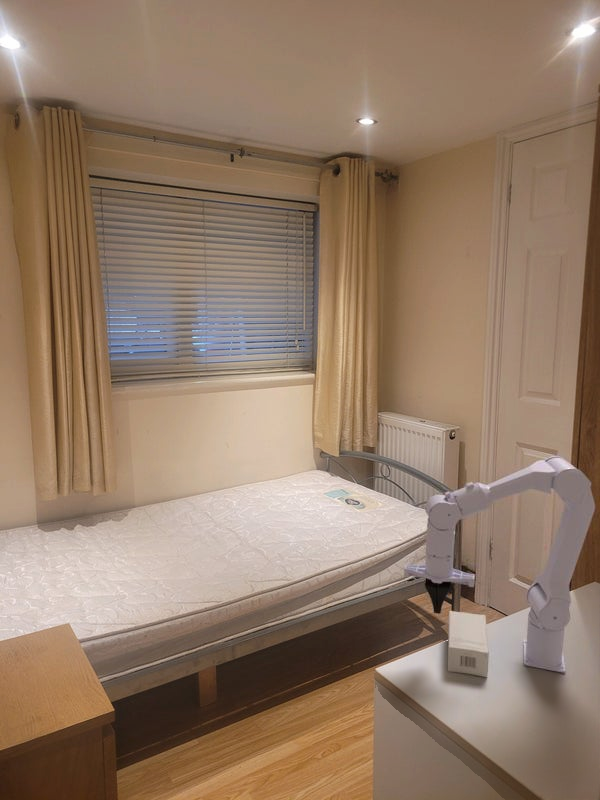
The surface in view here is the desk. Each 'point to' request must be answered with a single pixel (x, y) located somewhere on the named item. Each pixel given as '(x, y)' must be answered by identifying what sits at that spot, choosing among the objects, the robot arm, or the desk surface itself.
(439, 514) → the robot arm
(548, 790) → the desk surface
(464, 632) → the skincare box
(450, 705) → the desk surface
